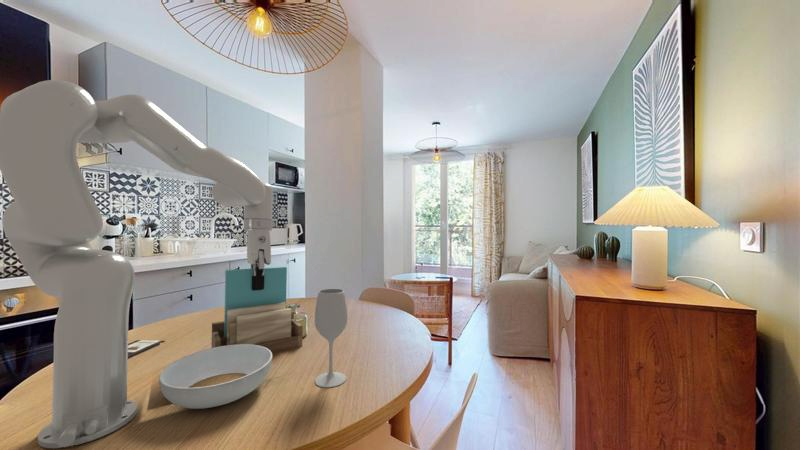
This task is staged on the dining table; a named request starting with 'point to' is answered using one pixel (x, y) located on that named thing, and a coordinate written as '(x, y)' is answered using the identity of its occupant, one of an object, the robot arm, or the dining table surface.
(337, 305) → the wineglass
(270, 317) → the plywood offcuts
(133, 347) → the chocolate bar
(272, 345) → the walnut rack
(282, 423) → the dining table surface
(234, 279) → the teal board
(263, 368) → the serving bowl
